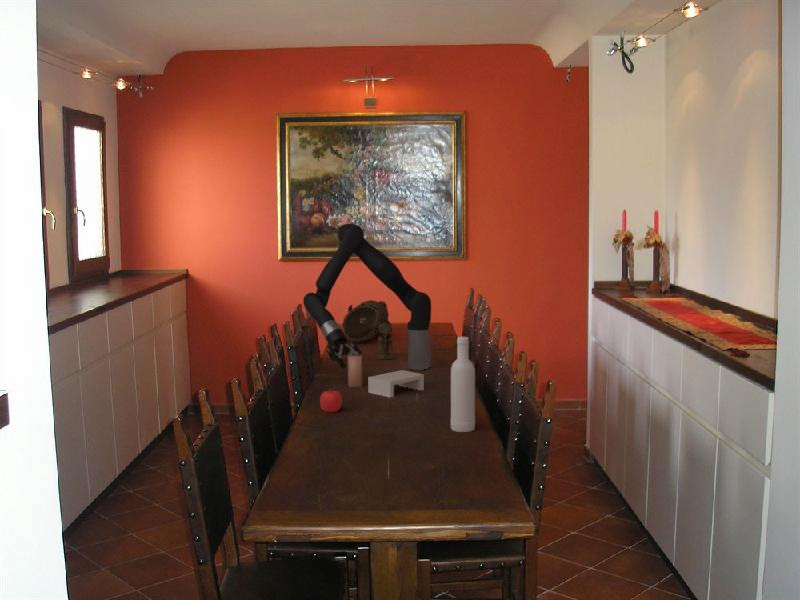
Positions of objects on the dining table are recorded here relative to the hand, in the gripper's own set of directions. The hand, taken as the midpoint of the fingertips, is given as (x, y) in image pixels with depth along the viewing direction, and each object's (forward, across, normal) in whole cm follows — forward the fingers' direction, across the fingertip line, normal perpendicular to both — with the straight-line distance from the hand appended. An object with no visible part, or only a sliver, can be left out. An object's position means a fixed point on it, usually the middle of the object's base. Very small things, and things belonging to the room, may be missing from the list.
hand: (352, 366), depth 351 cm
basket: (-48, +78, +59) cm, 109 cm away
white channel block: (+19, +5, -8) cm, 21 cm away
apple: (+23, -32, -11) cm, 41 cm away
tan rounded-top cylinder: (+6, 0, +5) cm, 8 cm away
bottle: (+58, -18, -46) cm, 76 cm away
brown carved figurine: (-16, +47, +28) cm, 57 cm away
